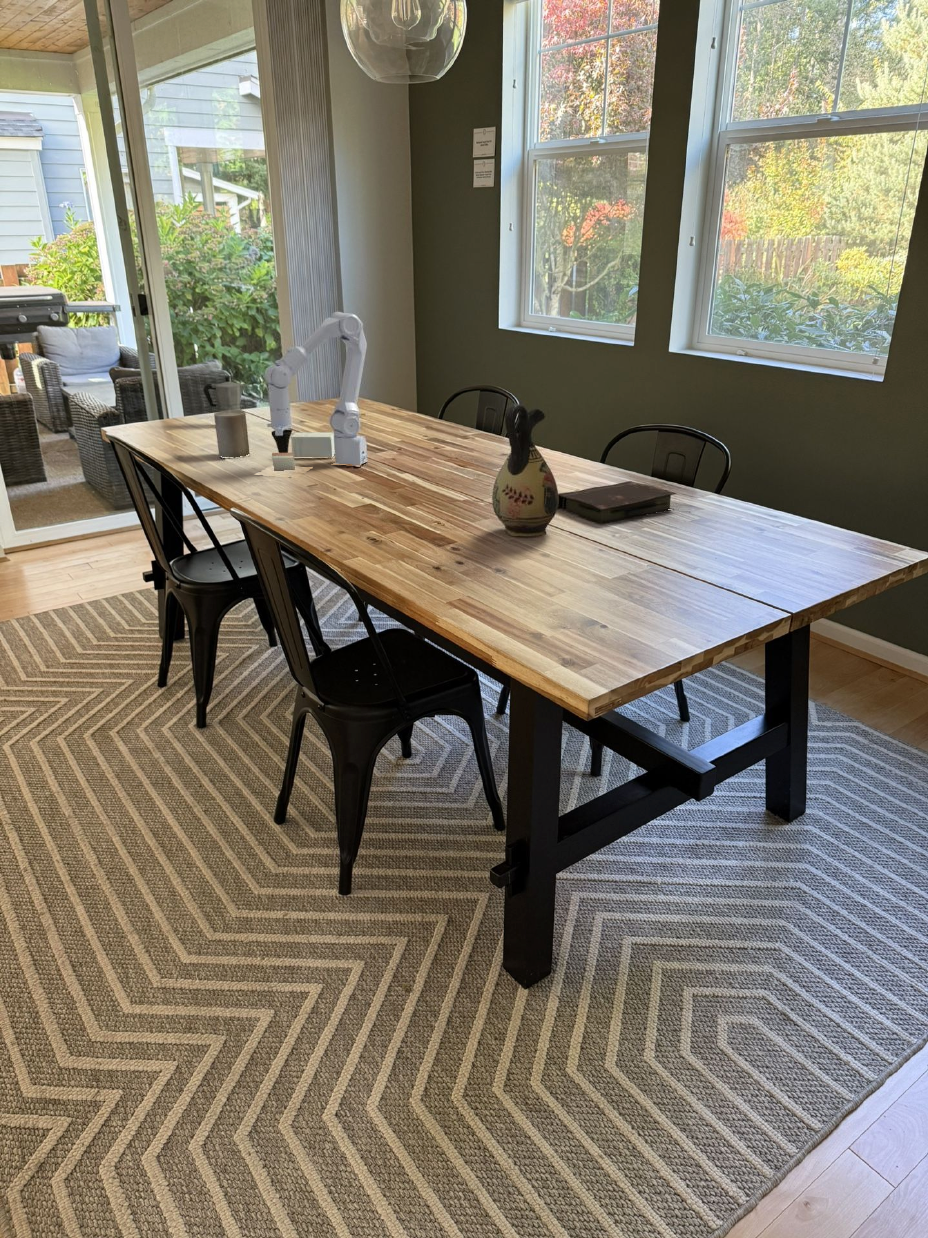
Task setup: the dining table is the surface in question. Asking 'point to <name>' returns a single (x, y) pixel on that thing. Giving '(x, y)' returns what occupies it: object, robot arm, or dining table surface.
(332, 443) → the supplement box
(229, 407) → the coffeepot
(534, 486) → the ceramic jug
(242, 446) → the pillar candle
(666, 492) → the diary
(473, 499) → the dining table surface
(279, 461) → the terracotta tile
